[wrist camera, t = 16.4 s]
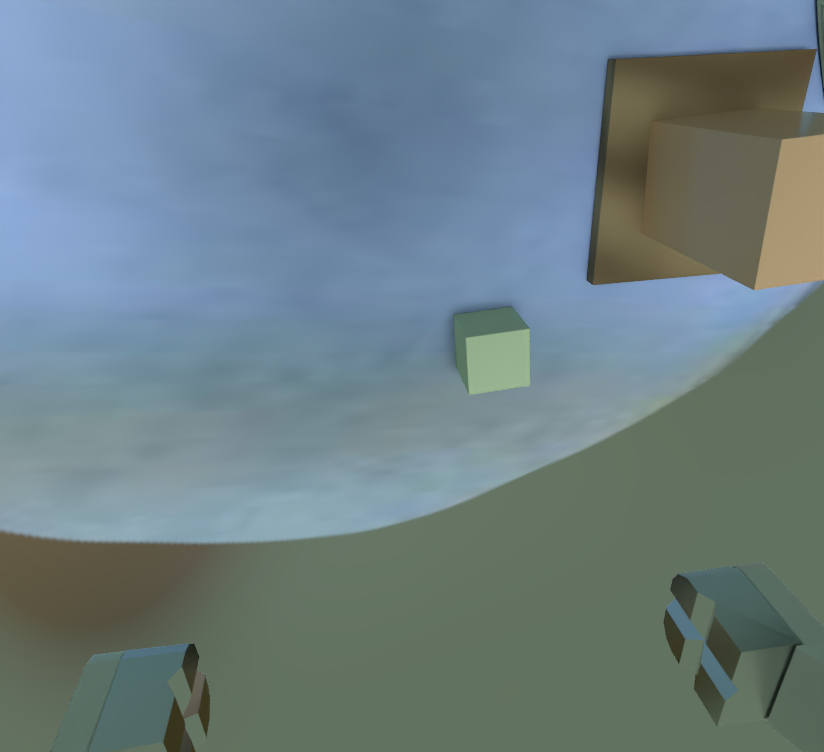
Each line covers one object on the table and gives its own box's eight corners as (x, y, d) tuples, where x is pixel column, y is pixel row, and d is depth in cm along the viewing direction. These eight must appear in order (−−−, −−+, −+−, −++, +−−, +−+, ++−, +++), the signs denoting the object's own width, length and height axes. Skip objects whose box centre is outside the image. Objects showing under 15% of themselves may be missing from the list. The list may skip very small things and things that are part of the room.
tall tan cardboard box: (651, 121, 34) (781, 139, 24) (758, 107, 34) (928, 121, 25) (641, 233, 37) (754, 290, 27) (740, 220, 38) (884, 270, 28)
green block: (452, 314, 39) (465, 337, 36) (511, 306, 39) (529, 328, 36) (456, 367, 41) (469, 394, 37) (512, 359, 41) (529, 385, 38)
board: (608, 59, 33) (615, 59, 32) (804, 49, 34) (816, 48, 33) (586, 280, 39) (592, 285, 38) (754, 265, 40) (763, 269, 39)
